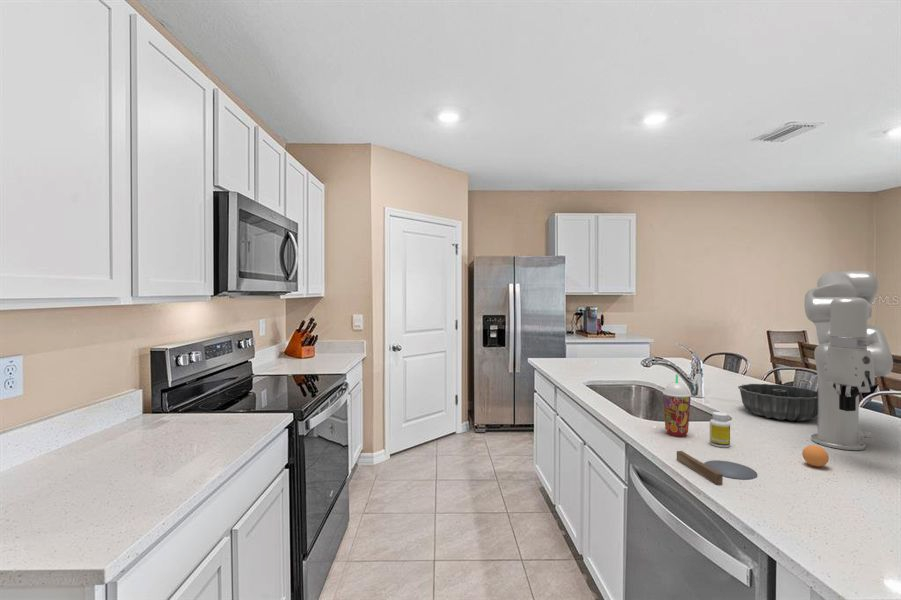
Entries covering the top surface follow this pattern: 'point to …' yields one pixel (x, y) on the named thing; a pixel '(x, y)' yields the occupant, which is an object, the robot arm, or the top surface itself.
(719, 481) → the rail
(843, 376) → the robot arm
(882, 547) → the top surface
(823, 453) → the ball
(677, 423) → the smoothie
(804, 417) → the bundt pan
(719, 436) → the supplement bottle
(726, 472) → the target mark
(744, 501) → the top surface
